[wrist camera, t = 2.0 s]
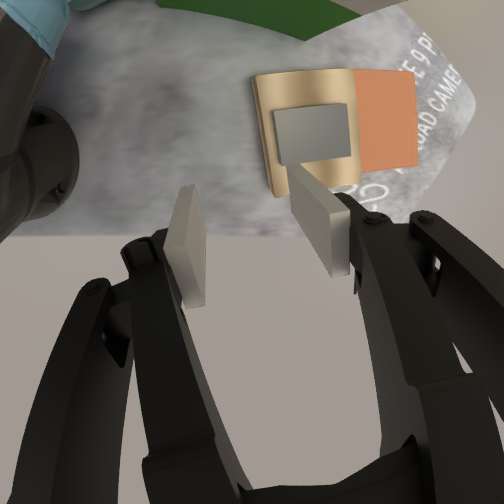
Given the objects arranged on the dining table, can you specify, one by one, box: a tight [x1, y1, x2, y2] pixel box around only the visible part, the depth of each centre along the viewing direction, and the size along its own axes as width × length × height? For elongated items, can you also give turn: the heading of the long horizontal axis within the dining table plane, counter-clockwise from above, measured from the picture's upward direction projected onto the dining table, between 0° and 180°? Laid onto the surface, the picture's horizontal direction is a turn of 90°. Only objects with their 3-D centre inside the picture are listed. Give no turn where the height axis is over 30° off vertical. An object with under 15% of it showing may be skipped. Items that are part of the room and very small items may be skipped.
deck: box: [251, 69, 362, 198], centre depth 32 cm, size 11×14×4 cm
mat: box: [353, 70, 418, 173], centre depth 34 cm, size 11×14×1 cm
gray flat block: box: [271, 103, 351, 166], centre depth 30 cm, size 8×6×2 cm
